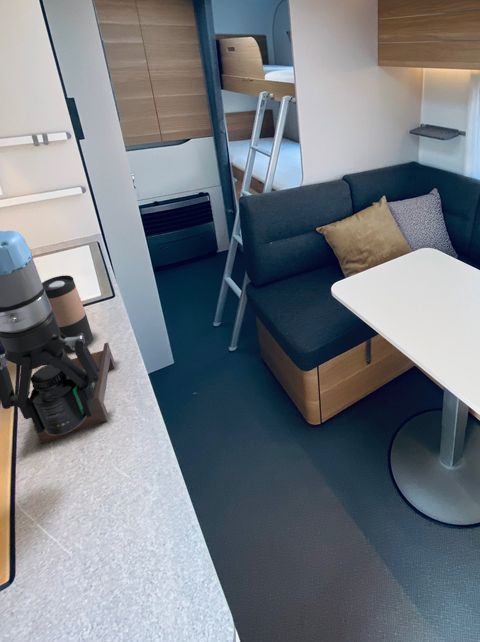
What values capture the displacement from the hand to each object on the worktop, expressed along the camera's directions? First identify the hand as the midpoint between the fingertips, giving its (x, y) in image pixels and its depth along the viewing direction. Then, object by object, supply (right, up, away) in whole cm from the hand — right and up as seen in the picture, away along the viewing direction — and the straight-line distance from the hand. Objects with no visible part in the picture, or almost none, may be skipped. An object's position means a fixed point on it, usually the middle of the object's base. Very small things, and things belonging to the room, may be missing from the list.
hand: (66, 418), depth 78 cm
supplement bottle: (0, -1, 0) cm, 1 cm away
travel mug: (-25, +2, +37) cm, 45 cm away
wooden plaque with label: (-11, -5, +19) cm, 22 cm away
